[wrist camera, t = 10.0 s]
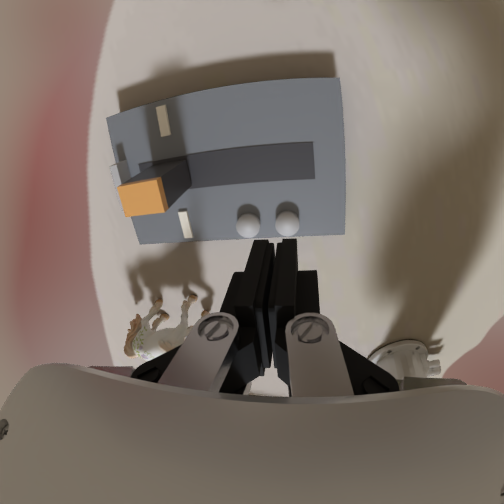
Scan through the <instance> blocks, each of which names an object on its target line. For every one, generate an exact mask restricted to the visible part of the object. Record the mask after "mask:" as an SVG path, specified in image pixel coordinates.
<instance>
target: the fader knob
mask: <svg viewBox="0 0 504 504" xmlns="http://www.w3.org/2000/svg"><path fill="white" fill-rule="evenodd" d="M191 186H192V185H191V180H190V175H189V170H188V165H187V160H180V161H175V162H169V163H163V164H158V165H153V166H150V167H149V168H147V169H145V170H144V171H142V172H140V173H139V174H137V175H135V176H134V177H132V178H131V179H129V180H127V181H126V182H124V183H123V184H121V185H120V186H118V187H117V190H118V193H119V197H120V200H121V203H122V207H123V210H124V213H125V216H126V217H130V216H139V215H147V214H156V213H165V212H166V211H167V210H168V209H169V208H170V207H171V206H172V205H173V204H174V203H175V202H176V201H177V200H178V199H179V198H180V197H181V196H182V195H183V194H184V193H185V192H186V191H187V190H188V189H189V188H190V187H191Z"/></svg>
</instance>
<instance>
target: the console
mask: <svg viewBox="0 0 504 504" xmlns="http://www.w3.org/2000/svg"><path fill="white" fill-rule="evenodd" d="M106 119H107V124H108V129H109V134H110V139H111V144H112V148H113V152H114V157H115V161H116V164H114V165H112V166H110V171H111V175H112V178H113V182H114V186H115V189H116V193H117V196H118V200H119V203H120V206H121V210H122V211H124V210H123V207H122V203H121V200H120V197H119V193H118V190H117V187H118V186H120V185H121V184H123V183H124V182H126V181H127V180H129V179H131V178H132V177H134V176H135V175H137V174H139V173H140V172H142V171H144V170H145V169H147V168H149V167H150V166H153V165H158V164H163V163H169V162H175V161H180V160H187V165H188V170H189V175H190V180H191V185H192V186H191V187H190V188H189V189H188V190H187V191H186V192H185V193H184V194H183V195H182V196H181V197H180V198H179V199H178V200H177V201H176V202H175V203H174V204H173V205H172V206H171V207H170V208H169V209H168V210H167V211H166V212H165V213H156V214H147V215H139V216H131V218H132V222H133V225H134V228H135V231H136V234H137V237H138V240H139V243H140V244H156V243H173V242H191V241H209V240H229V239H249V238H271V237H295V236H321V235H345V203H346V174H345V140H344V121H343V107H342V96H341V85H340V78H297V79H281V80H270V81H260V82H251V83H243V84H236V85H230V86H224V87H218V88H212V89H207V90H202V91H197V92H193V93H188V94H184V95H179V96H175V97H171V98H167V99H164V100H160V101H156V102H153V103H149V104H146V105H143V106H139V107H136V108H133V109H130V110H127V111H124V112H121V113H118V114H115V115H113V116H110V117H107V118H106Z"/></svg>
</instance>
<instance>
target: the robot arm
mask: <svg viewBox="0 0 504 504" xmlns="http://www.w3.org/2000/svg"><path fill="white" fill-rule="evenodd" d="M272 352H273V359H274V368H277V372H278V377H279V378H280V379H281V380H282V381H283V382H285V383H286V384H287V385H288V392H289V397H270V396H252V395H248V394H249V392H250V389H251V385H252V383H251V381H252V380H254V379H255V378H257V377H258V376H264V372H265V368H270V366H271V360H272ZM427 357H428V352H427V348H426V346H425V345H424V344H423V343H422V342H419V341H415V340H404V341H399V342H395V343H392V344H389V345H387V346H385V347H383V348H381V349H380V350H378V351H377V352H375V353H374V354H373V355H372V356H371V357H370V358H369V359H367V358H365V357H363V356H362V355H360V354H359V353H357V352H356V351H354V350H353V349H351V348H350V347H348V346H346V345H345V344H343V343H342V342H340V341H339V340H338V337H337V334H336V330H335V327H334V325H333V323H332V321H331V320H330V319H329V318H327V317H326V316H324V315H322V314H320V307H319V292H318V278H317V270H308V271H298V257H297V239H283V241H282V243H277V249H276V256H275V250H274V243H269V241H268V240H254V242H253V245H252V248H251V252H250V255H249V258H248V261H247V264H246V268H245V271H244V272H234V274H233V276H232V279H231V282H230V284H229V287H228V290H227V293H226V295H225V298H224V301H223V304H222V307H221V309H220V312H216V313H211V314H208V315H205V316H204V317H202V318H201V319H199V320H198V321H197V322H196V323H195V325H194V326H193V328H192V330H191V331H190V333H189V334H188V336H187V337H186V339H185V340H184V342H183V344H181V345H179V346H177V347H176V348H174V349H172V350H170V351H168V352H166V353H164V354H162V355H160V356H158V357H156V358H154V359H152V360H150V361H148V362H146V363H144V364H142V365H140V366H139V367H137V368H136V369H134V368H133V366H126V367H109V366H108V367H107V366H104V367H103V366H90V367H84V366H80V365H74V364H67V363H50V364H42V365H38V366H35V367H33V368H31V369H30V370H29V371H28V372H27V373H26V374H25V375H24V376H23V377H22V378H21V380H20V381H19V382H18V383H17V385H16V386H15V388H14V389H13V390H12V392H11V393H10V395H9V397H8V398H7V400H6V401H5V403H4V405H3V407H2V408H1V410H0V504H504V394H502V393H501V392H499V391H496V390H494V389H491V388H487V387H480V386H474V385H467V384H466V383H465V382H462V381H461V380H458V379H443V378H427V376H434V375H438V374H440V372H441V367H440V361H439V360H433V361H428V360H427Z"/></svg>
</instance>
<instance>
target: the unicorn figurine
mask: <svg viewBox="0 0 504 504" xmlns="http://www.w3.org/2000/svg"><path fill="white" fill-rule="evenodd" d="M197 299H198V298H197V296H195V295H190V296H189V297H188V302H187V301H186V300H184V301H183V305H182V306H181V310H182V315H181V323H180V324H179V325H178V326H177V327H176V328H165V329H161V330H159V331H156V329H157V327H158V326H159V325H160V324H161V323H162V322H165V321H166V320H168V319H169V316H168V315H167V314H164V313H163V314H161V315H160V318H157V319H156V320H154V322H153V324H152V326H153V327H152V329H151V328H150V325H149V323H148V322H149V320H150V319H151V318H152V317H153V316H154V315H155V314H156V313H158V312H159V309H160V308H161V307H162V303H163V300H161V299H158V300H156V302H155V304H154V306H152V308H151V309H150V311H149V314H148V315H147V316H146V317H144V318H143V319H142V318H141V317H140V315H139V314H136V319H133V320H132V321H130V325H131V330H130V329H128V332H129V333H128V334H127V339H126V342H125V344H126V345H125V347H124V352H125V354H126V355H127V356H128V357H129V358H136V357H140V358H142V359H144V360H147V361H150V360H152V359H154V358H156V357H158V356H160V355H162V354H164V353H166V352H168V351H170V350H172V349H174V348H176V347H177V346H179V345H181V344H183V342H184V340H185V339H186V337H187V336H188V334H189V333H190V331H191V330H192V328H193V326H190V327H188V322H187V319H188V309H189V307H190V305H191V304H193V303H194V302H195V301H197ZM208 314H210V313H209V312H207V311H205V310H204V311H203V312H202V313H201V316H202V317H204V316H205V315H208ZM202 317H201V318H202Z"/></svg>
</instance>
